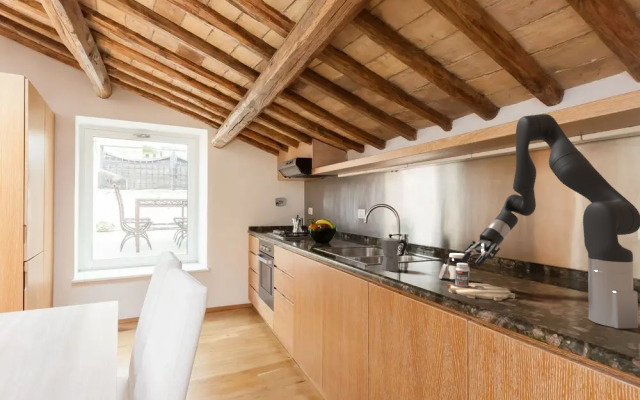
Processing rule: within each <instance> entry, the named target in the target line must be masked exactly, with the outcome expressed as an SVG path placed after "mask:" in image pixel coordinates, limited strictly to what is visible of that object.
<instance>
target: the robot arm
mask: <svg viewBox="0 0 640 400" xmlns="http://www.w3.org/2000/svg"><path fill="white" fill-rule="evenodd" d="M534 141H543V142H545V144H547V146H548V147H549V148H550V154H549V158H548V165H549V168H550V170H551V172H552V173H553V174H554V176H555V177H556V179H558V180H559V181H560V182H561V183H562V185H564V186H566V188H569V189H571V190H572V191H573V192H576V193H577V194H578V195H581V196H582V197H583V198H585V199H587V200H588V201H589V202H590V204H588V205H587V206H586V207H585V209H584V212H583V216H582V226H583V227H582V228H583V241H584V242H583V243H584V247H585V249H586V251H587V257H588V258H587V259H588V260H587V262H588V264H587V265H588V266H587V268H588V269H587V271H588V272H587V277H588V279H587V280H588V281H587V282H588V283H587V285H588V289H587V291H588V292H587V293H588V295H587V296H588V299H587V300H588V320H590V322H594V323H596V324H599V325H603V326H605V327H611V328H615V329H638V328H639V315H638V314H639V309H638V308H639V307H638V305H639V303H638V301H639V300H638V299H639V298H638V297H639V296H638V295H639V293H638V292H637V290H634V253H633V251H632V250H630V249H628V248H625V247H624V246H623V245H621V244H620V242H619V238H618V237H619V236H623V235H624V236H625V235H631V234H634V233H636V232H637V231H638V230H640V212H639V210H638V209H637V208H636V206H635V205H634V204H632V203H631V201H629V200H628V199H627V198H626V197H625V196H623V194H621V193H620V192H619V191H618V190H616V189H615V188H614V187H613V186H612V185H611V184H610V183H609V182H608V181H607V180H606V178H604V177H603V176H602V174H601V172H599V171H598V170H597V169H596V168H595V167H594V166H593V164H592V163H591V162H590V160H589V159H587V157H585V155H584V154H583V153H582V152H581V151H580V150H579V149H578V148H577V147H576V146H575V145H574V144H573V142H572V141H571V140H570V139H569V137H568V136H567V135H566V134H565V132H564V130H563V129H562V128H561V126H560V124H559V123H558V122H557V121H556V119H555V118H554V117H553V115H551V114H546V113H540V114H531V115H524V116H522V117H520V118H519V119H518V121H517V124H516V129H515V173H514V178H513V184H512V189H513V191H514V192H516V193H517V194H514V193H513V194H510V195H509V196H507V198H505V201H504V203H503V204H504V205H503V206H502V209H501V210H500V213H498V215H497V216H496V218H494V220H492V221H491V222H490V223H489V224H488V225H487V227H486V228H484V230H483V231H481V233H480V234H479V240H478V241H475V240H474V239H473V240H471V242H469V243H468V244H467V245H466V247H465V248H463V251H464V252H465V253H463V254H464V255H463V257H462V258H461V261H462V262H463V263H465V262H466V261H468V260H469V259H470V258H471V257H472V256H474V255H478V254H480V256H478V258H476V260H475V261H474V264H475V265H476V266H477V267H481V266H482V265H483V264H484V262H486V261H487V260H493V258H494V257H495V256H496V255H497V254H498V252H499V251H500V249H501V247H499V246H500V245H501V244H502V243H503V241H504V240H505V239H506V238H507V237H508V235H509V234H510V232H511V231H512V230H513V228H515V226H516V225H517V223H519V222H518V221H519V218H518V216H517V215H516V214H519V215H522V216H524V217H530V216H531V215H533V213H534V212H535V210H536V206H537V203H536V195H535V184H536V179H537V168H536V166H535V163H534V161H533V160H532V157H531V155H530V151H529V149H530V143H531V142H534Z"/></svg>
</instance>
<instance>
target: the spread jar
mask: <svg viewBox="0 0 640 400" xmlns="http://www.w3.org/2000/svg"><path fill="white" fill-rule="evenodd" d="M464 254H465V253H460V252H459V253H457V252H450V253H449V255H448V256H449V258H448V259H447V262H446V264H445V263H443V264H442V266H441V269H440V272H439V275H438V279H441V280H442V279H443V277H444V275H445V272H446V275H447V279H448V281H449V282H452V283H455V277H456V268H457V263H463V262H462V261H461V258H462V257H463V255H464ZM465 263H466V264H468V268H467V269H468V270H469V271H470V263H469V261H468V260H467V261H466V262H465Z"/></svg>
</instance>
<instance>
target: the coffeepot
mask: <svg viewBox="0 0 640 400" xmlns="http://www.w3.org/2000/svg"><path fill="white" fill-rule="evenodd" d="M388 236H389V237H386V238H381V239H378V241H379V242H380V244H381V247H382V253H383V257H382V263H381V267H380V268H381V269H380V270H382V271H385V272H398V271H399V270H400V267H399V261H398V260H399V259H398V256H399V257H403V256H404V254H405V252H406V248H407V246H408V243H407V242H406V240H405V239H396V238H393V234H392V233H389V234H388ZM399 244H403V245H402V249H401V253H399V254H398V252H399Z"/></svg>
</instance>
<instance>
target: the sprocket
mask: <svg viewBox="0 0 640 400" xmlns="http://www.w3.org/2000/svg"><path fill="white" fill-rule="evenodd" d="M446 287H447V288H448V292H449V293H451V294H457V295H459V296H460V295H461V296H464V297H467V298H469V299H474V300H475V299H483V300H493V301H503V300H505V299H515V298H516V293H513V292H511V288H507V287H500V286H496V285H492V284H490V283H477V282H469V286H467V287H462V286H457V285H456V284H455V283H447V284H446Z"/></svg>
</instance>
